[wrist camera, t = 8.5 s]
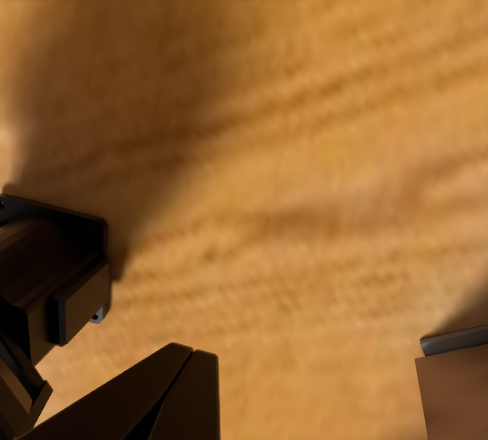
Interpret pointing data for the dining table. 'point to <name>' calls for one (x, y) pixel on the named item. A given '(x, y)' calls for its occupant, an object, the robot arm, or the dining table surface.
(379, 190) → the dining table surface
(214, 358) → the robot arm
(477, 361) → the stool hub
